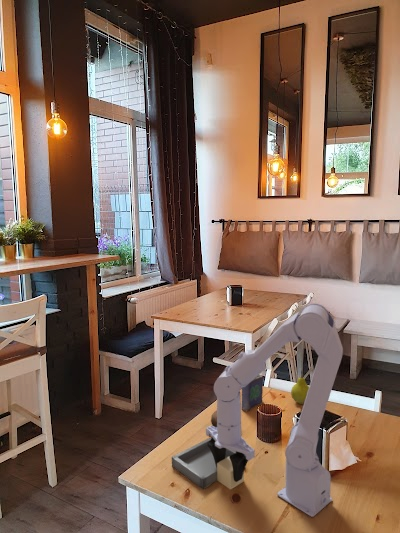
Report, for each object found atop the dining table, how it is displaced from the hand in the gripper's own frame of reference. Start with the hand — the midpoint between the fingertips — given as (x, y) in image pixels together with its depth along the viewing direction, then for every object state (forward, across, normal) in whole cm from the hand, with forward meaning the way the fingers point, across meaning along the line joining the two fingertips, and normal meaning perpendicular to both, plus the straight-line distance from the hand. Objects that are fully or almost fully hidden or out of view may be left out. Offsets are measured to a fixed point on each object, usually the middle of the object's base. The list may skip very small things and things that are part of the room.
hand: (229, 473), depth 97 cm
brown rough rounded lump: (+2, -18, +16) cm, 24 cm away
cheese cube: (+2, 0, 0) cm, 2 cm away
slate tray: (+2, -8, 0) cm, 8 cm away
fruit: (+2, -12, +47) cm, 48 cm away
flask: (+2, -22, +33) cm, 40 cm away
